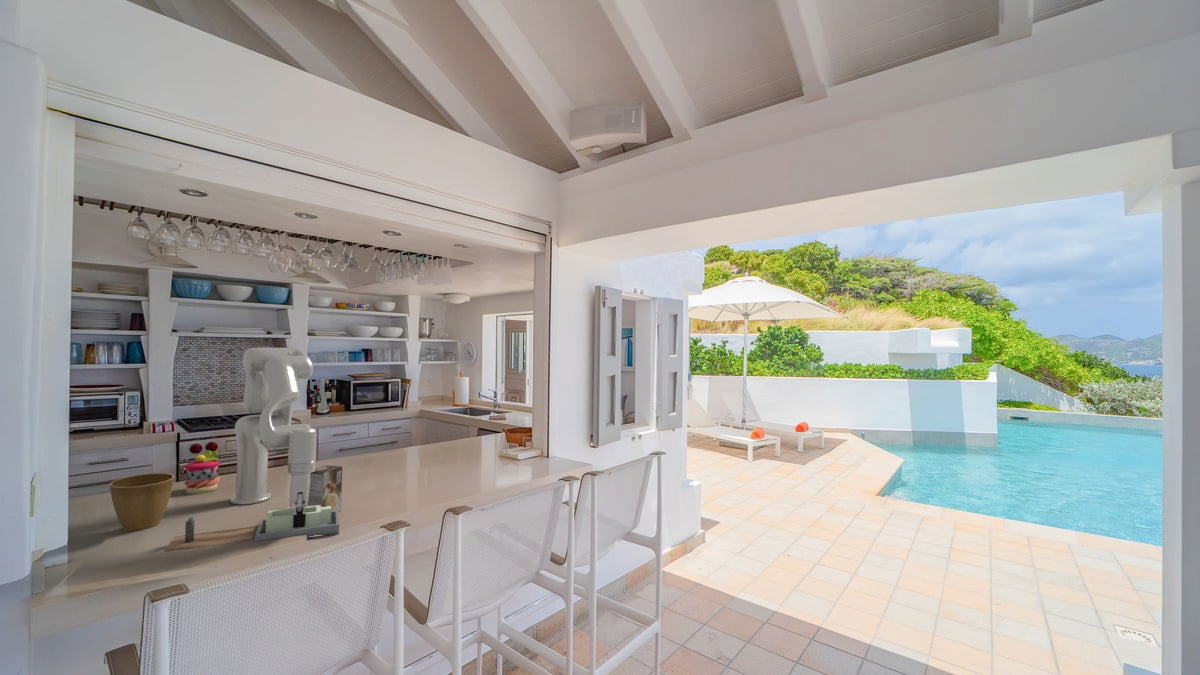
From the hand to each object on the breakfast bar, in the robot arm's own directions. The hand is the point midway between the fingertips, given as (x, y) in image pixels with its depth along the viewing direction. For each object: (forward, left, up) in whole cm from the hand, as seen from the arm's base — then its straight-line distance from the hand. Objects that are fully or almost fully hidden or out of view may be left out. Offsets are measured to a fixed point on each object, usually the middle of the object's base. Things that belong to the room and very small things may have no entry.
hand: (299, 522), depth 158 cm
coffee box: (-14, +7, -3) cm, 16 cm away
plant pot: (-20, -43, -3) cm, 48 cm away
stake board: (0, -22, -3) cm, 22 cm away
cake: (-62, -35, -3) cm, 71 cm away
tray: (0, 0, -3) cm, 3 cm away
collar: (0, 0, -1) cm, 1 cm away
